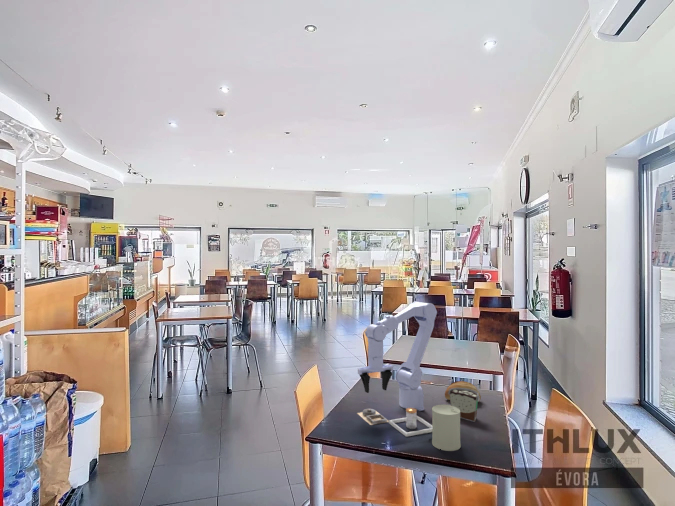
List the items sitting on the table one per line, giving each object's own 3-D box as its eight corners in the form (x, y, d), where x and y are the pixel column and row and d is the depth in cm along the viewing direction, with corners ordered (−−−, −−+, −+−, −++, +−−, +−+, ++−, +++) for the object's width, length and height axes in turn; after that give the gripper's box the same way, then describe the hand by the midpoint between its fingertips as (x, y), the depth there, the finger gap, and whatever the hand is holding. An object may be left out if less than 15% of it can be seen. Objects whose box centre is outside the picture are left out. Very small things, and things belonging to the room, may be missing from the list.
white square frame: (417, 422, 152) (417, 415, 152) (436, 435, 141) (436, 428, 141) (388, 427, 147) (388, 420, 147) (406, 441, 136) (406, 433, 136)
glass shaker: (407, 426, 147) (407, 407, 147) (418, 428, 145) (418, 408, 145) (404, 430, 143) (404, 410, 144) (414, 432, 142) (414, 412, 142)
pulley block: (375, 414, 160) (375, 405, 160) (390, 425, 149) (390, 416, 149) (356, 417, 157) (356, 408, 157) (370, 429, 146) (370, 419, 146)
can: (456, 453, 127) (456, 415, 128) (427, 446, 132) (427, 409, 132) (464, 442, 135) (463, 406, 135) (437, 436, 140) (436, 401, 140)
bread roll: (443, 396, 181) (443, 378, 181) (478, 398, 179) (478, 379, 179) (445, 403, 172) (445, 384, 172) (482, 405, 169) (482, 386, 169)
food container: (485, 418, 156) (485, 392, 156) (478, 423, 151) (478, 396, 151) (455, 410, 164) (455, 385, 164) (448, 414, 159) (448, 388, 160)
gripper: (387, 351, 164) (387, 385, 164) (354, 355, 159) (354, 390, 159) (395, 355, 158) (396, 390, 157) (362, 359, 152) (362, 395, 152)
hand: (375, 390), depth 158 cm, fingers open, 7 cm apart
